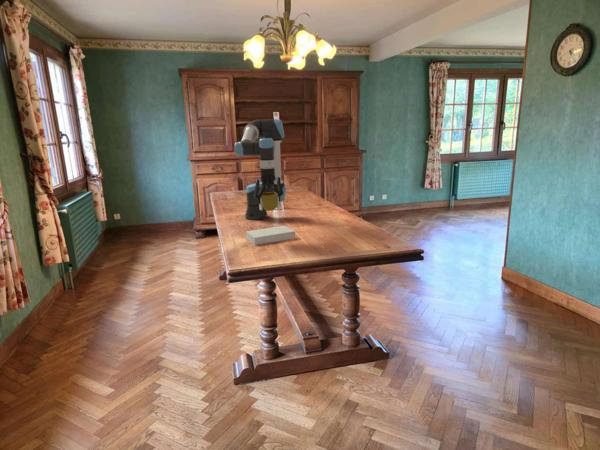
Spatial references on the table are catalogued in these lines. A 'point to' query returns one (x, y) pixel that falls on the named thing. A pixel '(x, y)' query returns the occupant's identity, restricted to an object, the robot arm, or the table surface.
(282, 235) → the white stand
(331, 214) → the table surface
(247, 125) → the robot arm
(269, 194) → the flower pot
